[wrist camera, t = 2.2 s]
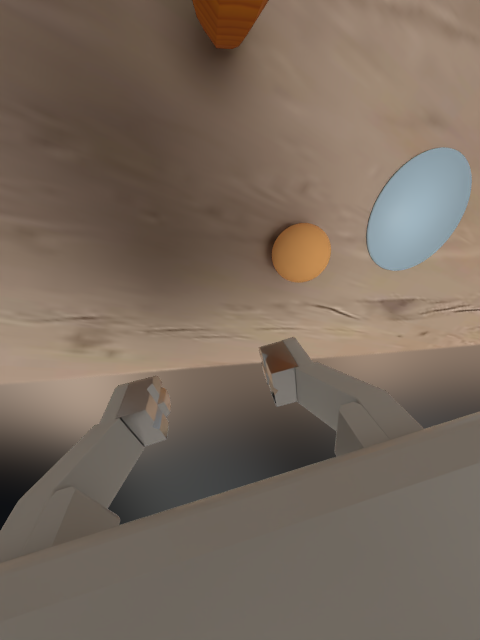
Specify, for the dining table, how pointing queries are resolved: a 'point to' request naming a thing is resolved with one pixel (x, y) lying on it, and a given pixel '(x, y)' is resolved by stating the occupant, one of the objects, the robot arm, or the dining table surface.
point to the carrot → (228, 19)
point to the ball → (301, 252)
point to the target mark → (419, 209)
